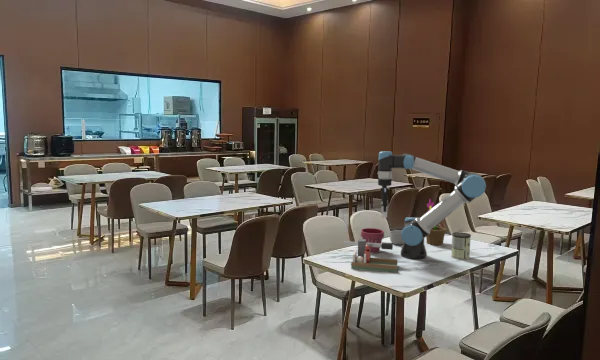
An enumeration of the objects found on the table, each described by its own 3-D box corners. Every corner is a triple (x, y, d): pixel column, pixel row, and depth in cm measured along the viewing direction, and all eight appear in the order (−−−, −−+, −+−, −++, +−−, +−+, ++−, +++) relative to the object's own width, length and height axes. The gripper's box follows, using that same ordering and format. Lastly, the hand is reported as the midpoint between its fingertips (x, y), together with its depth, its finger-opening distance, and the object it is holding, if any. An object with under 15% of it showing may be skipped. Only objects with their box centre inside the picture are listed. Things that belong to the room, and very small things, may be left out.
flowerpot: (420, 241, 303) (422, 197, 299) (440, 240, 304) (442, 197, 301) (428, 246, 288) (430, 200, 285) (449, 246, 290) (452, 200, 286)
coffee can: (452, 254, 272) (453, 231, 270) (470, 256, 268) (471, 233, 266) (450, 258, 263) (451, 234, 261) (468, 260, 258) (470, 236, 257)
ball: (358, 254, 248) (355, 260, 249) (357, 256, 244) (354, 262, 245) (365, 257, 247) (362, 263, 248) (364, 259, 243) (361, 265, 244)
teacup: (406, 246, 289) (406, 234, 288) (389, 245, 291) (389, 233, 290) (405, 240, 303) (406, 229, 302) (389, 239, 305) (389, 228, 304)
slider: (392, 259, 252) (392, 242, 251) (391, 266, 240) (391, 248, 239) (343, 255, 259) (344, 238, 257) (340, 262, 246) (340, 244, 245)
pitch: (397, 262, 253) (398, 241, 251) (396, 272, 236) (397, 249, 234) (354, 259, 258) (355, 238, 257) (351, 268, 241) (351, 246, 240)
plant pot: (386, 253, 271) (386, 233, 269) (363, 254, 270) (363, 233, 268) (380, 247, 285) (380, 227, 283) (358, 247, 284) (358, 228, 282)
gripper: (377, 176, 268) (377, 211, 270) (378, 180, 243) (378, 219, 246) (390, 176, 267) (389, 211, 269) (392, 181, 242) (392, 219, 245)
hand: (384, 215), depth 257 cm, fingers open, 13 cm apart
